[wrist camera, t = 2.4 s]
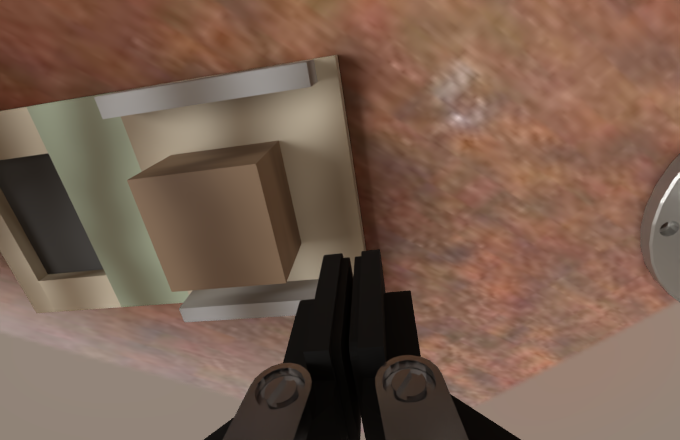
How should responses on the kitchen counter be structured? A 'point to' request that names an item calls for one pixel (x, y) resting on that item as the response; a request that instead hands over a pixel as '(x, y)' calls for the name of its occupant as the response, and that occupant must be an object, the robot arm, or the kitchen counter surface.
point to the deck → (150, 148)
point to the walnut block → (220, 217)
